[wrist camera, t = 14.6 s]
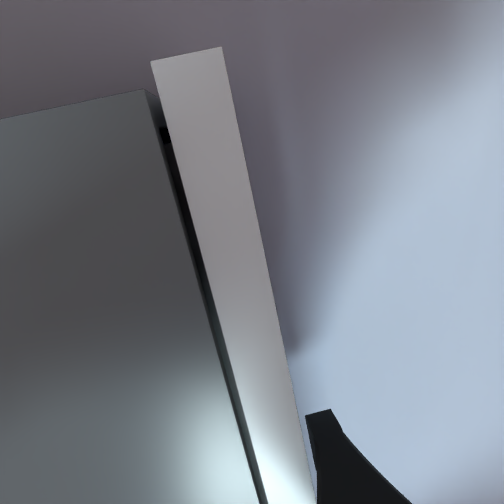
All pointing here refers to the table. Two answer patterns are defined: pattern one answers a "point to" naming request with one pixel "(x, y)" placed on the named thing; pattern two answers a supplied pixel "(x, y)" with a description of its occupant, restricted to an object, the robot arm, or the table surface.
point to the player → (106, 320)
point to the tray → (233, 266)
